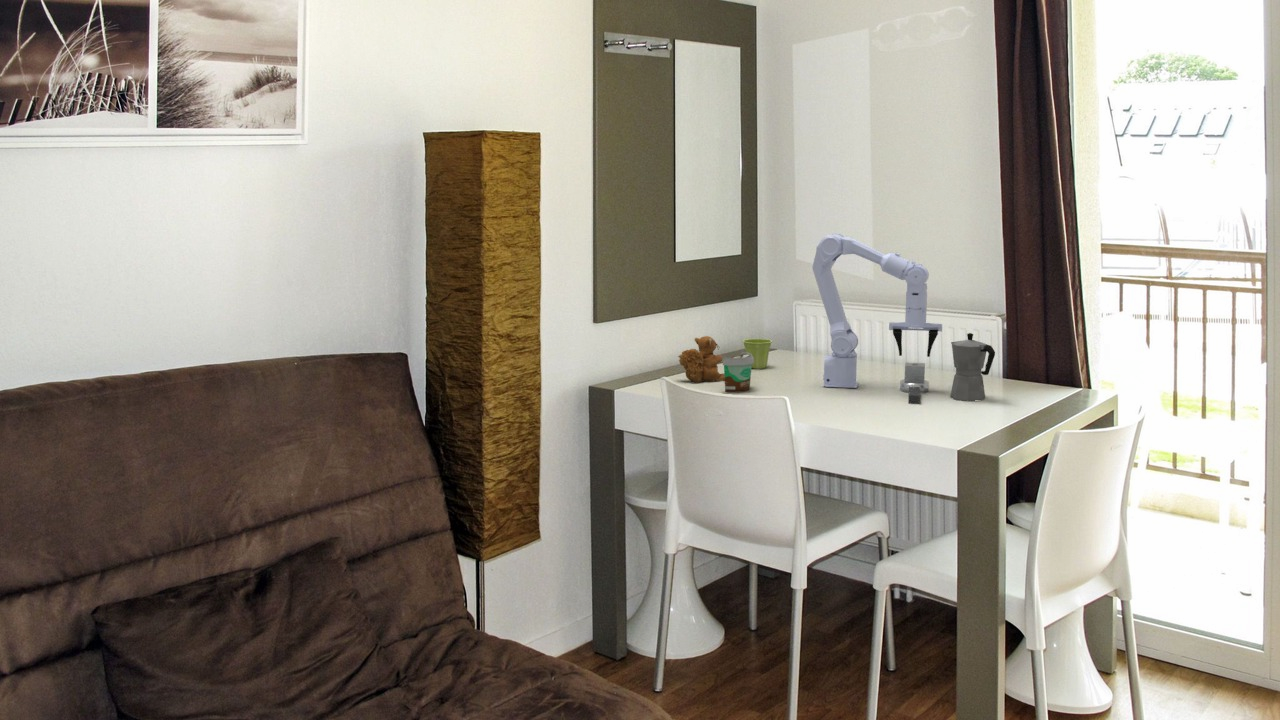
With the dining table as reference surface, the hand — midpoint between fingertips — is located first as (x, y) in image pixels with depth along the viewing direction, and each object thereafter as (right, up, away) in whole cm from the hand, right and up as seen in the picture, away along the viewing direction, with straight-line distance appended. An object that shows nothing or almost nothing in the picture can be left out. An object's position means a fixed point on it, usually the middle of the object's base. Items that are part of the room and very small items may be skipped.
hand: (914, 355), depth 307 cm
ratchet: (-2, -11, -6) cm, 13 cm away
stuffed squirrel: (-59, -8, +20) cm, 63 cm away
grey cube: (0, -7, +1) cm, 7 cm away
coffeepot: (+12, -12, -11) cm, 21 cm away
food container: (-49, -10, +4) cm, 50 cm away
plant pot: (-40, -4, +40) cm, 57 cm away
